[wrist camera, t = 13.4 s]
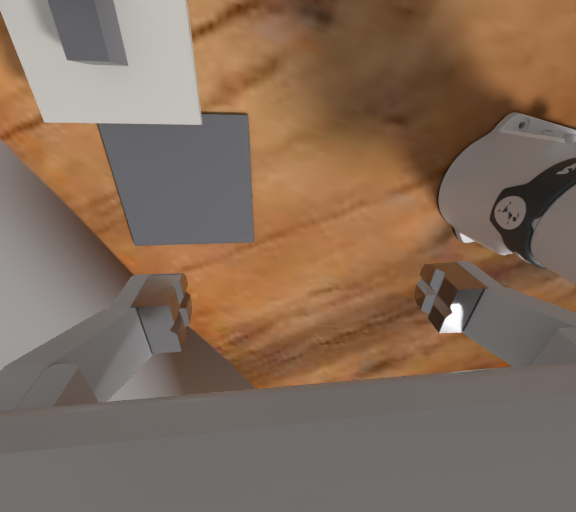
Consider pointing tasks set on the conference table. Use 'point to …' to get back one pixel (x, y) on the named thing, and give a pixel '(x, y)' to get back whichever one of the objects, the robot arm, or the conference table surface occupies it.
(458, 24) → the conference table surface
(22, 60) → the lid
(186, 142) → the mat
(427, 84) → the conference table surface
